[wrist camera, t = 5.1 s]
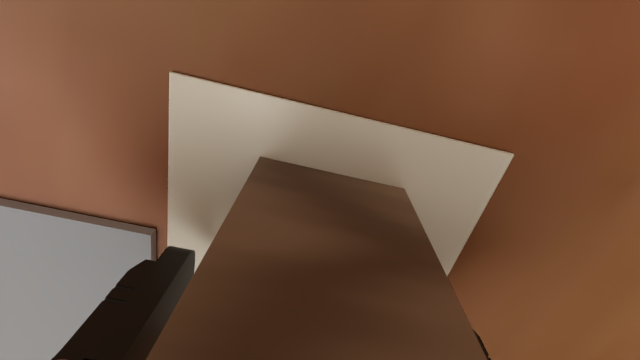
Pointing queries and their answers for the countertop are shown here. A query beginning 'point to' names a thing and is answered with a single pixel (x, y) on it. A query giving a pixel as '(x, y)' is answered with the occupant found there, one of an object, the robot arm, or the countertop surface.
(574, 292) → the countertop surface
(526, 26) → the countertop surface
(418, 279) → the walnut block
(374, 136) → the card
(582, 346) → the countertop surface
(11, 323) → the slate pad
